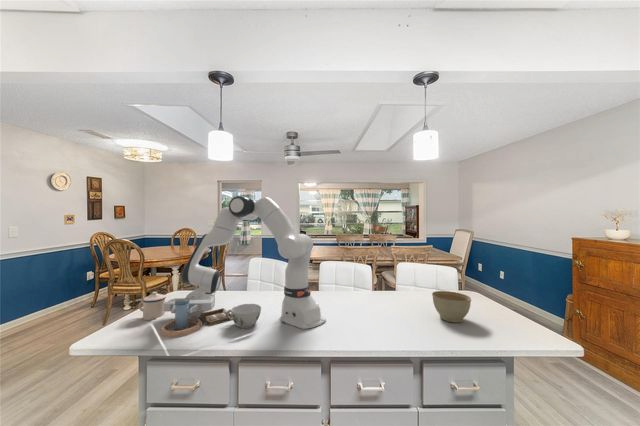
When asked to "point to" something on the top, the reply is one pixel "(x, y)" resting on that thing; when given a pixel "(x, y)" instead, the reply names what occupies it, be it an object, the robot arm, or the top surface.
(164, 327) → the tan flat ring
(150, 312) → the teacup with lid
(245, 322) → the teacup
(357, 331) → the top surface
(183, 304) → the pebble jar
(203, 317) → the parts tray
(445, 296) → the planter bowl
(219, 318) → the pebble
